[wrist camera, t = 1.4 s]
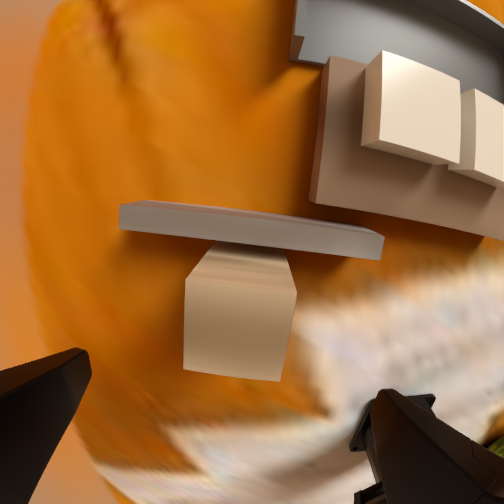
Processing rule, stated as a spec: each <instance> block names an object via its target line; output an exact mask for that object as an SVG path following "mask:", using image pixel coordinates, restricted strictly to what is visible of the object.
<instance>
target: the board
mask: <svg viewBox="0 0 504 504" xmlns="http://www.w3.org/2000/svg"><path fill="white" fill-rule="evenodd" d="M367 65H368V64H365V63H361V62H357V61H353V60H349V59H345V58H340V57H336V56H331V55H330V57H329V58H328V60H327V62H326V64H325V66H324V67H323V69H322V75H321V87H320V99H319V110H318V120H317V130H316V140H315V149H314V158H313V166H312V175H311V183H310V190H309V198H308V200H309V201H311V202H314V203H317V204H324V205H330V206H337V207H343V208H349V209H355V210H361V211H367V212H373V213H378V214H384V215H389V216H394V217H400V218H405V219H410V220H415V221H420V222H425V223H429V224H434V225H439V226H443V227H448V228H452V229H457V230H461V231H466V232H470V233H474V234H478V235H482V236H486V237H490V238H494V239H498V240H502V241H504V188H497V187H494V186H492V185H489V184H487V183H484V182H482V181H479V180H476V179H474V178H471V177H468V176H465V175H462V174H460V173H457V172H454V171H451V170H448V166H449V164H443V165H432V164H429V163H425V162H422V161H419V160H415V159H412V158H408V157H404V156H401V155H397V154H393V153H389V152H385V151H381V150H377V149H372V148H368V147H364V146H361V138H362V126H363V112H364V95H365V68H366V67H367Z"/></svg>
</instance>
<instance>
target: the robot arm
mask: <svg viewBox="0 0 504 504" xmlns="http://www.w3.org/2000/svg"><path fill="white" fill-rule="evenodd" d="M91 375H92V370H91V365H90V360H89V355H88V352H87V351H86V350H83V349H80V348H72V349H69V350H66V351H63V352H60V353H57V354H54V355H50V356H47V357H44V358H41V359H38V360H35V361H31V362H28V363H25V364H22V365H18V366H15V367H12V368H8V369H5V370H2V371H0V504H28V503H29V501H30V498H31V496H32V494H33V492H34V490H35V488H36V486H37V484H38V482H39V480H40V478H41V476H42V474H43V472H44V470H45V468H46V466H47V464H48V462H49V460H50V458H51V456H52V455H53V453H54V451H55V449H56V447H57V445H58V443H59V442H60V440H61V438H62V436H63V434H64V433H65V431H66V429H67V427H68V425H69V424H70V422H71V420H72V418H73V416H74V415H75V413H76V411H77V408H78V406H79V404H80V401H81V399H82V397H83V395H84V392H85V390H86V388H87V386H88V383H89V381H90V379H91ZM435 399H436V397H435V396H434V395H433V394H426V395H416V396H403V395H402V394H400V393H399V392H397V391H396V390H394V389H381V390H380V391H379V392H378V394H377V397H376V399H374V400H372V401H371V403H370V404H369V407H368V409H367V411H366V413H365V415H364V417H363V420H362V422H361V424H360V426H359V428H358V430H357V432H356V434H355V436H354V438H353V440H352V442H351V444H350V445H349V449H350V451H351V452H357V451H366V453H367V456H368V459H369V462H370V465H371V468H372V471H373V474H374V478H375V481H376V484H374V485H372V486H370V487H368V488H366V489H364V490H360V491H358V492H356V493H354V504H504V458H503V457H501V456H499V455H497V454H495V453H493V452H491V451H490V450H488V449H486V448H484V447H483V446H481V445H479V444H478V443H476V442H475V441H473V440H471V439H470V438H468V437H466V436H465V435H463V434H462V433H460V432H458V431H457V430H455V429H454V428H452V427H451V426H449V425H447V424H446V423H444V422H443V421H441V420H440V419H438V418H437V417H436V416H435V414H434V412H433V411H432V409H431V407H432V405H433V403H434V402H435Z"/></svg>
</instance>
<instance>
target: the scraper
mask: <svg viewBox="0 0 504 504" xmlns="http://www.w3.org/2000/svg"><path fill="white" fill-rule="evenodd" d="M119 229H123V230H132V231H140V232H149V233H158V234H167V235H175V236H184V237H193V238H201V239H210V240H218V241H215V242H214V243H213V245H212V246H211V247H210V249H209V250H208V251H207V252H206V254H205V255H204V256H203V257H202V259H201V260H200V261H199V263H198V264H197V265H196V267H195V268H194V269H193V270H192V272H191V273H190V274H189V276H188V277H187V278H186V282H185V307H184V369H186V370H191V371H197V372H203V373H210V374H217V375H224V376H231V377H239V378H248V379H257V380H267V381H279V382H280V378H281V374H282V369H283V364H284V360H285V355H286V350H287V345H288V340H289V335H290V330H291V324H292V319H293V314H294V308H295V303H296V297H297V291H296V287H295V284H294V281H293V277H292V274H291V271H290V268H289V264H288V261H287V258H286V255H285V252H284V249H277V248H285V249H293V250H301V251H309V252H317V253H325V254H333V255H341V256H349V257H357V258H365V259H372V260H380V259H381V254H382V249H383V244H384V239H385V236H383V235H380V234H378V233H376V232H374V231H372V230H370V229H368V228H366V227H364V226H360V225H354V224H347V223H340V222H334V221H327V220H320V219H313V218H306V217H298V216H291V215H283V214H275V213H267V212H259V211H251V210H242V209H233V208H224V207H215V206H205V205H195V204H184V203H173V202H162V201H150V200H144V201H138V202H133V203H128V204H123V205H120V210H119ZM219 241H227V242H235V243H227V242H219ZM236 243H243V244H236ZM244 244H252V245H260V246H252V245H244ZM261 246H268V247H261ZM269 247H277V248H269Z"/></svg>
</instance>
